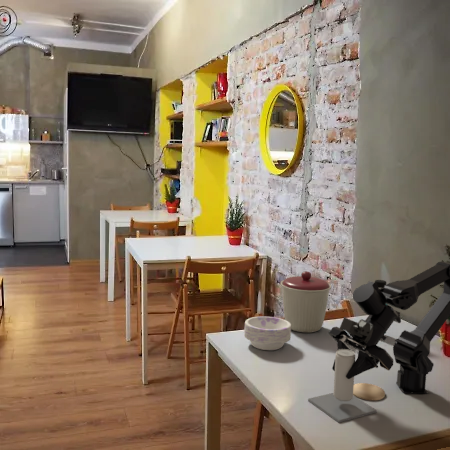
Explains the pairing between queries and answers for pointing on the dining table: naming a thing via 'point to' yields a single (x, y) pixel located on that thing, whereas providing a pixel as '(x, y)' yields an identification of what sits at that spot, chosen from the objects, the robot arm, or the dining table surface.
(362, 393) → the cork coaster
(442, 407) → the dining table surface
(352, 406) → the slate coaster
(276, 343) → the paper bowls
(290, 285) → the canister
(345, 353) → the beverage can
